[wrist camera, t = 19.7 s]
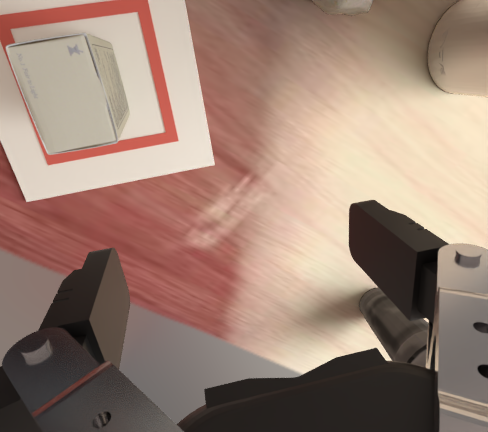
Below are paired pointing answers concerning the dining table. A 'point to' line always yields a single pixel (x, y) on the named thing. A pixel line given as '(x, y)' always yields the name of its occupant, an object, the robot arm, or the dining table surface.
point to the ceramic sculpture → (344, 6)
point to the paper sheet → (135, 85)
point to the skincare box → (71, 90)
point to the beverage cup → (395, 328)
